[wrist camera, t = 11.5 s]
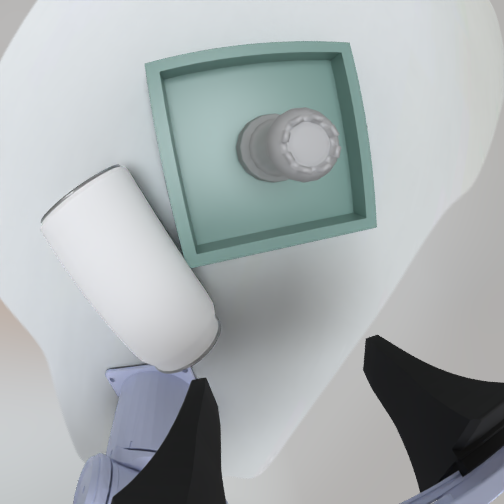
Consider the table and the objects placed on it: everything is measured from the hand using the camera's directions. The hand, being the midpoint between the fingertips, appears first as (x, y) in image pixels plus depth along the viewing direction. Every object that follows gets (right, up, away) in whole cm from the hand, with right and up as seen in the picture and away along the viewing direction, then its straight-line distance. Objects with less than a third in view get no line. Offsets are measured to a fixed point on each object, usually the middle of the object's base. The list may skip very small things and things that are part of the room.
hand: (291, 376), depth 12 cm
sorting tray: (-1, +13, +7) cm, 14 cm away
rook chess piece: (-1, +12, +7) cm, 14 cm away
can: (-12, +9, +3) cm, 15 cm away
